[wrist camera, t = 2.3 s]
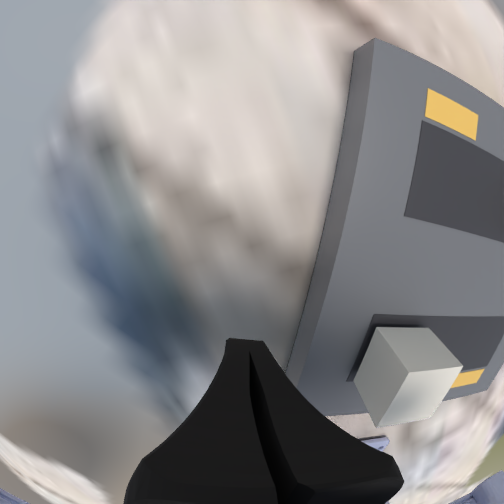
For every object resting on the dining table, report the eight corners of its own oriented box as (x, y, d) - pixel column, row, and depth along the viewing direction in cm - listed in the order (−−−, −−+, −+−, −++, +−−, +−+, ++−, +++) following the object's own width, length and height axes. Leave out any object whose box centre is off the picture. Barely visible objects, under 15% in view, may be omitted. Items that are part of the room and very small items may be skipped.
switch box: (473, 374, 17) (487, 390, 15) (279, 390, 15) (285, 417, 14) (547, 159, 12) (568, 163, 10) (354, 50, 10) (375, 37, 8)
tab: (404, 377, 13) (430, 417, 10) (353, 380, 13) (375, 427, 10) (428, 327, 12) (463, 366, 9) (376, 327, 12) (408, 372, 9)
